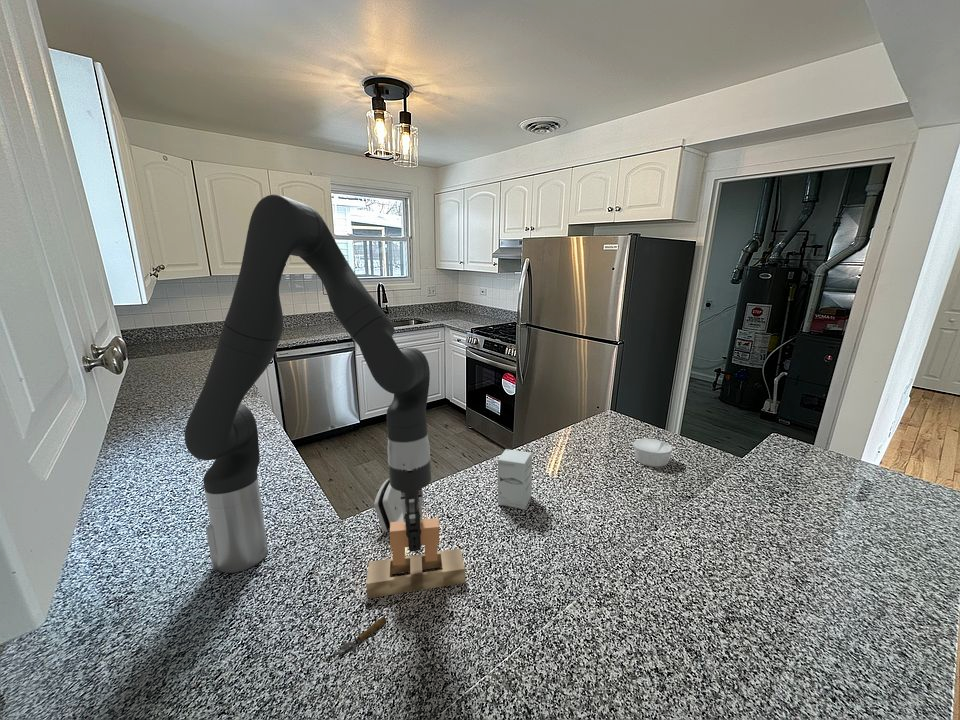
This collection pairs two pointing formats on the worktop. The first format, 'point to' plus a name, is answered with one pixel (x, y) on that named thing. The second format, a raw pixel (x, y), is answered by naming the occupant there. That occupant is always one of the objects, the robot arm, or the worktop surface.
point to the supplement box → (514, 478)
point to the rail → (415, 574)
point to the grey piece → (388, 505)
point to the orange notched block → (427, 538)
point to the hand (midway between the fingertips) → (414, 543)
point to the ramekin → (652, 452)
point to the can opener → (362, 636)
